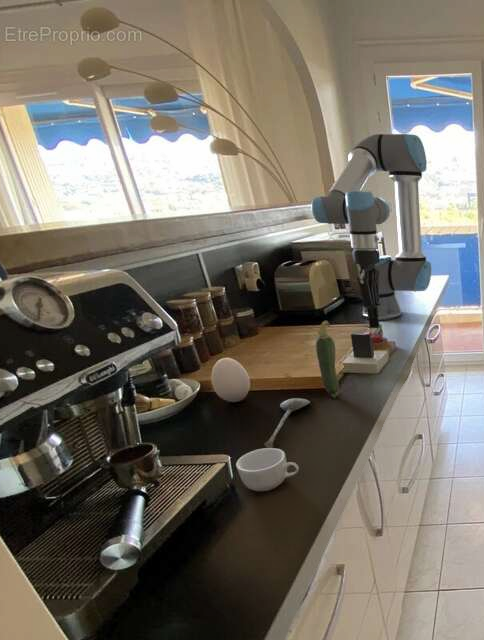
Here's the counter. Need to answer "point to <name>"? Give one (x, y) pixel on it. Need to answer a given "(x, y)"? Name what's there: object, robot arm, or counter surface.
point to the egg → (230, 380)
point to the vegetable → (327, 360)
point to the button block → (385, 346)
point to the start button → (377, 338)
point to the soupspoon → (286, 415)
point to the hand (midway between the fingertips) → (374, 327)
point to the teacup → (264, 469)
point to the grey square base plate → (365, 363)
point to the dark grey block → (362, 345)
